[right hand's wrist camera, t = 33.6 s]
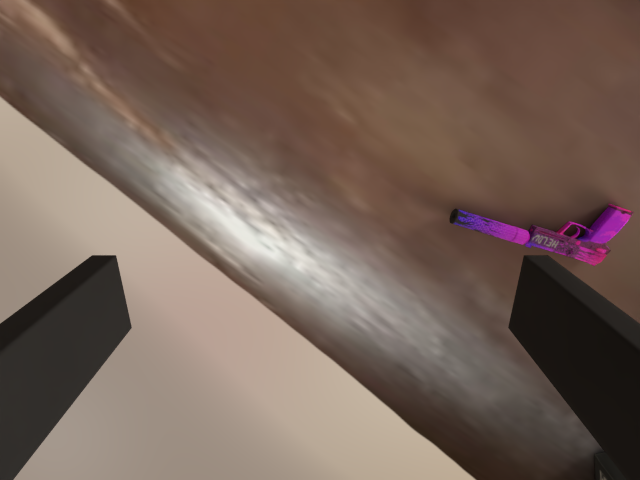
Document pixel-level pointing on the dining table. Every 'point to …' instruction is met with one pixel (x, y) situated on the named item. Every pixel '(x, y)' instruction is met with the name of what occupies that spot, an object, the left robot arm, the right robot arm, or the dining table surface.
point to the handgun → (554, 233)
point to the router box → (606, 468)
